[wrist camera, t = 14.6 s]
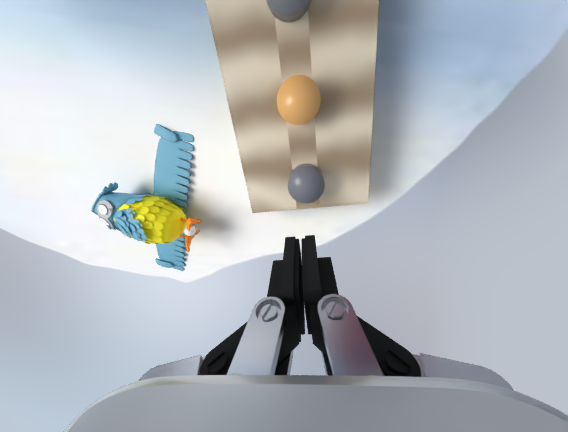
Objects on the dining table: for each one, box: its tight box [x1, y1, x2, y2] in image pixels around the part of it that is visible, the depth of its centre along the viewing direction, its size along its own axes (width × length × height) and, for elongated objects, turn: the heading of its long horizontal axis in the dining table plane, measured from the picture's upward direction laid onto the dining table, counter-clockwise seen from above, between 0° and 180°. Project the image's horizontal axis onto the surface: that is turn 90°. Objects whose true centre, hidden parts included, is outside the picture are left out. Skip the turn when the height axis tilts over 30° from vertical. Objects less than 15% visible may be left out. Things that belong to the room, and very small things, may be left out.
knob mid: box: [277, 75, 321, 125], centre depth 23 cm, size 4×4×6 cm
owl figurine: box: [92, 124, 201, 271], centre depth 33 cm, size 28×9×15 cm
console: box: [205, 0, 379, 213], centre depth 25 cm, size 26×16×5 cm, turn 8°
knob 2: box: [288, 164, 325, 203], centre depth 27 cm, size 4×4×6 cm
